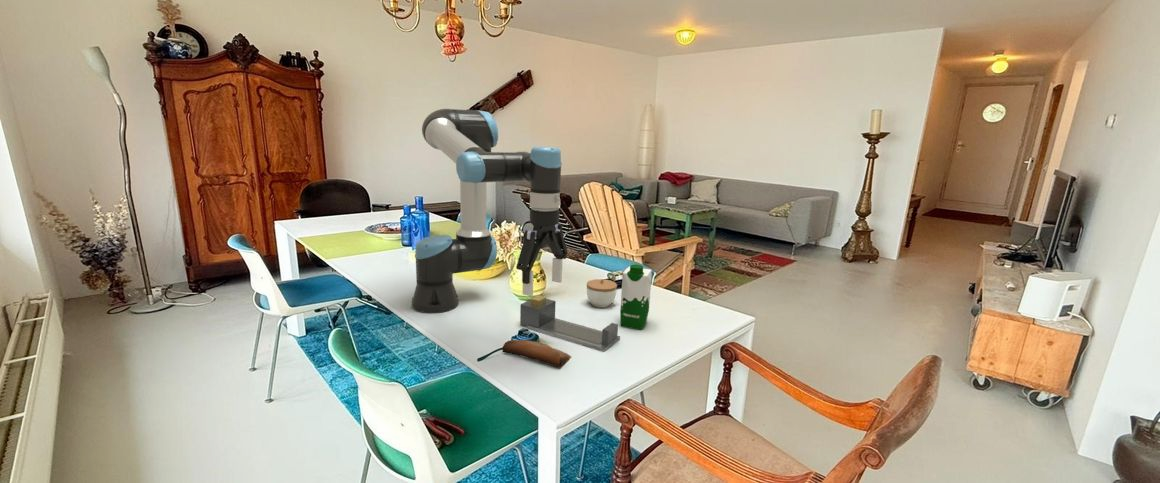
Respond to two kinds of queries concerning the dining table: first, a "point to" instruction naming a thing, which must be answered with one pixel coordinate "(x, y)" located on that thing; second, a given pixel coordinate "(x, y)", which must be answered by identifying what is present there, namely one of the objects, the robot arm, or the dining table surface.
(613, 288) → the lidded jar
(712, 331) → the dining table surface
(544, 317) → the motor mount
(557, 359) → the sunglasses case
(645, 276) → the milk carton
